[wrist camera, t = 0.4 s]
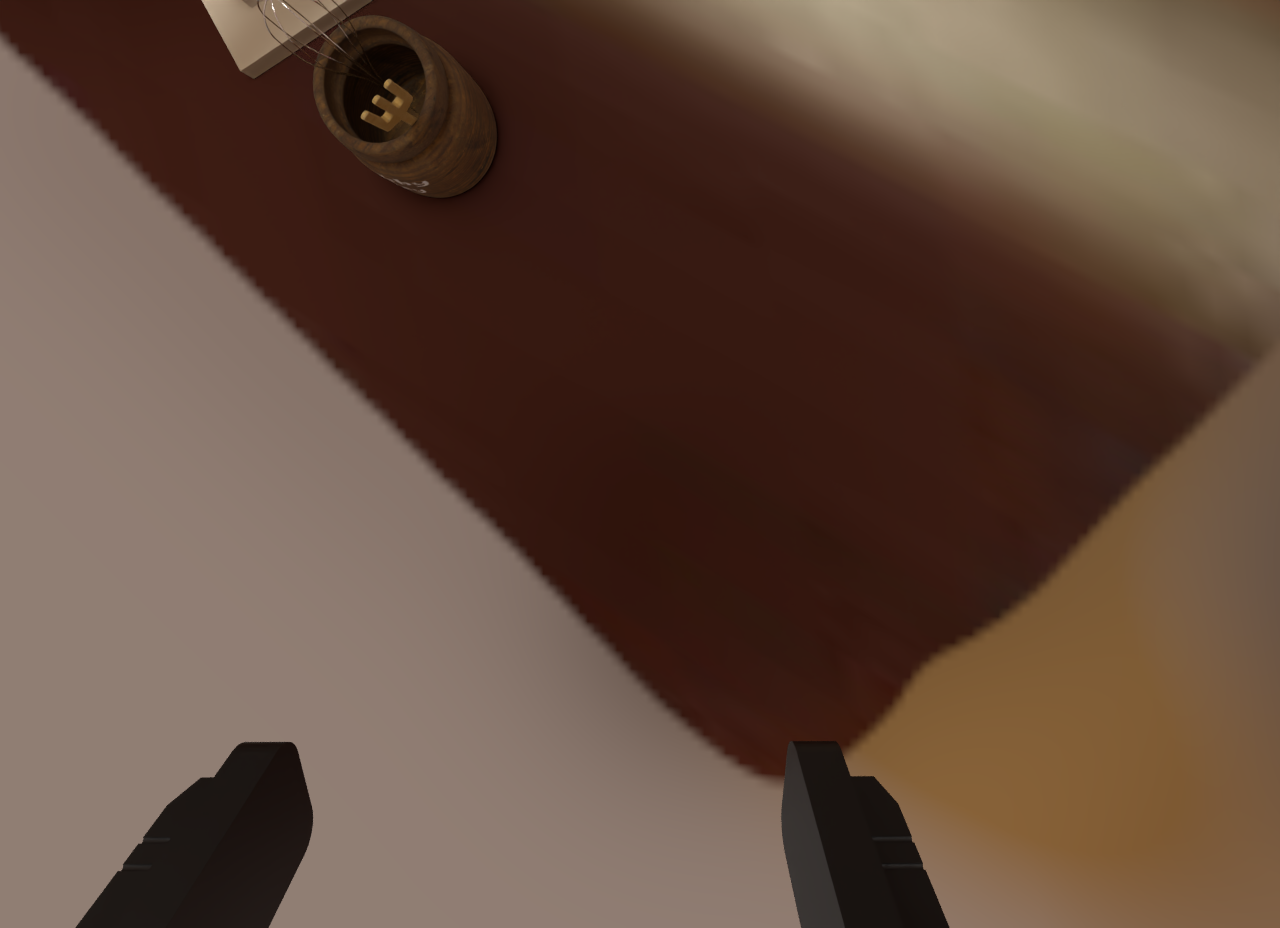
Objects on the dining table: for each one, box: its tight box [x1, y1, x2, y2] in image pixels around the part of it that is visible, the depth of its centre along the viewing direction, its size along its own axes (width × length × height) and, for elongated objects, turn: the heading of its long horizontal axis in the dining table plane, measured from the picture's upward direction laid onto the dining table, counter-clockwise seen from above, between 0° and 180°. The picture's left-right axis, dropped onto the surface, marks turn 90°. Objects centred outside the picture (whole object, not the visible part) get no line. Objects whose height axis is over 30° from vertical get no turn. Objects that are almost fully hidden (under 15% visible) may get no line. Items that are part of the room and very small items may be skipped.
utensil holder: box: [257, 0, 497, 198], centre depth 28 cm, size 6×6×12 cm
